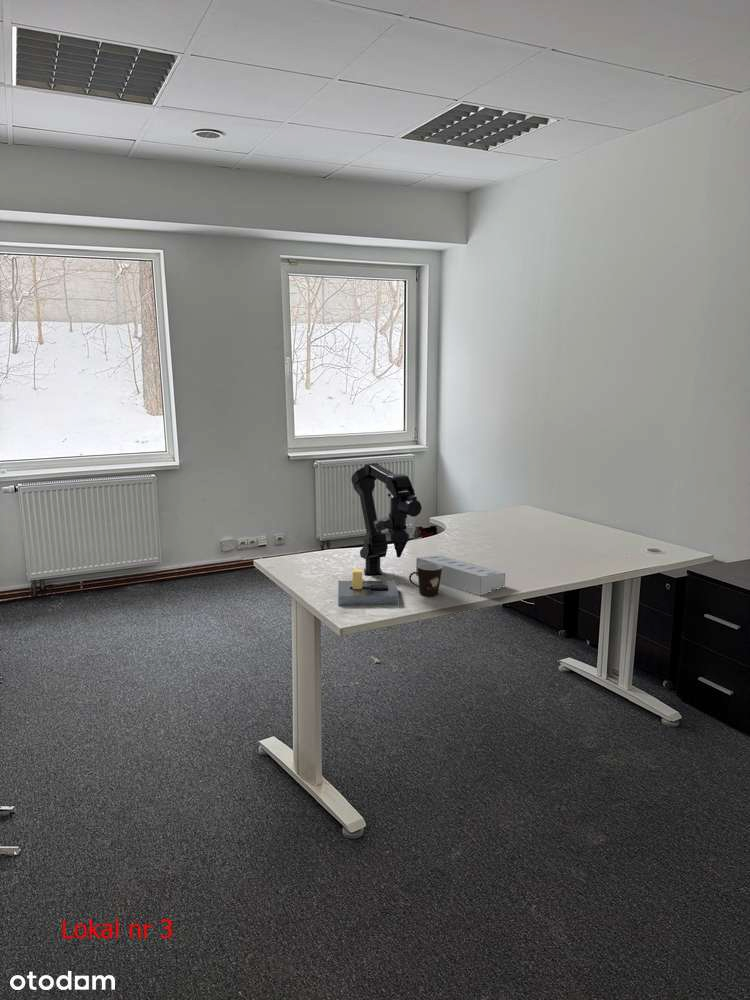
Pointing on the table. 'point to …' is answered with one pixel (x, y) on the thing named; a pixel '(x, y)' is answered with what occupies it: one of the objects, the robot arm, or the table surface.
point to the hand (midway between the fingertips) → (397, 553)
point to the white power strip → (465, 575)
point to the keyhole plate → (368, 593)
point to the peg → (357, 579)
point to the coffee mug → (428, 578)
